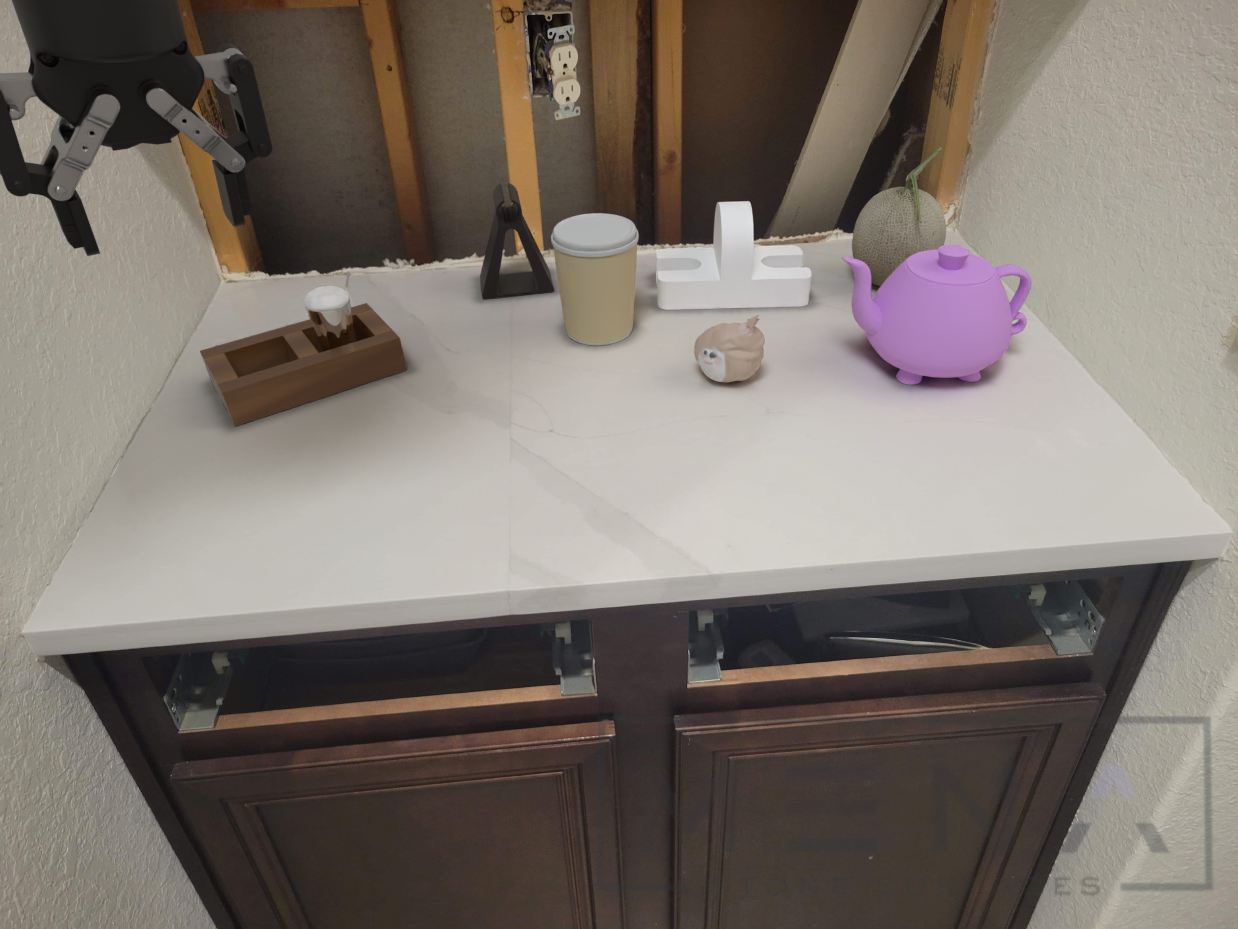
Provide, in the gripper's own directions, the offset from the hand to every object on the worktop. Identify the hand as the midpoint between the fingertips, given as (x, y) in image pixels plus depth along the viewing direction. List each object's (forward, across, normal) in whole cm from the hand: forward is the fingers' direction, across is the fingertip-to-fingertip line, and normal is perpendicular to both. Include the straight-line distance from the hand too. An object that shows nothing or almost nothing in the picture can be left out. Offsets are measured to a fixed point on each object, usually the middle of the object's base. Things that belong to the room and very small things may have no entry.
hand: (165, 234), depth 52 cm
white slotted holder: (+24, -61, -5) cm, 65 cm away
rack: (+29, -12, -18) cm, 37 cm away
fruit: (+21, -77, +6) cm, 80 cm away
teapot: (+19, -64, +20) cm, 70 cm away
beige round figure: (+22, -46, +10) cm, 52 cm away
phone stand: (+29, -41, -23) cm, 55 cm away
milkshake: (+29, -17, -18) cm, 38 cm away
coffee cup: (+26, -42, -7) cm, 50 cm away
